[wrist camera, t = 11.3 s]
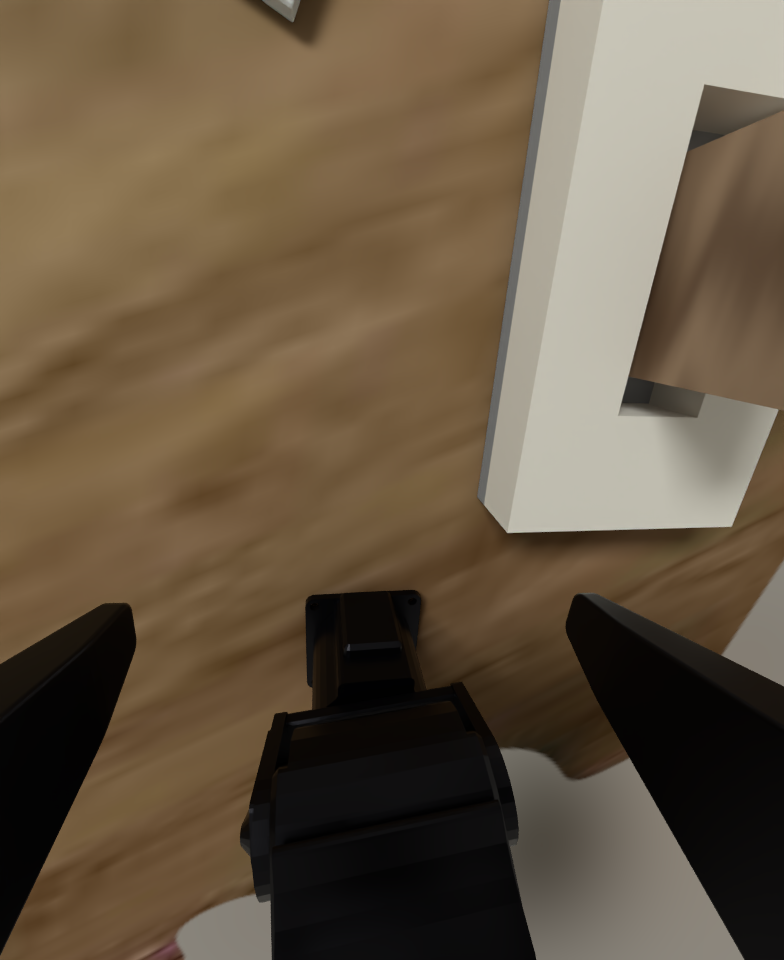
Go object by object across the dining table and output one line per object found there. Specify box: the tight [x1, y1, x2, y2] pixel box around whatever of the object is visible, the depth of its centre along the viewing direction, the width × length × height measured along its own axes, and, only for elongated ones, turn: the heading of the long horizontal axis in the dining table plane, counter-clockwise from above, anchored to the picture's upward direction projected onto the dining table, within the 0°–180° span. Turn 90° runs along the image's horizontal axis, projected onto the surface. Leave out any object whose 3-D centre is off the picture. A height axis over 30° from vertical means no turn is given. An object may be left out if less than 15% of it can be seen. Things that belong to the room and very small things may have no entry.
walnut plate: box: [628, 110, 784, 411], centre depth 15 cm, size 8×2×9 cm, turn 176°
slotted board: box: [477, 0, 784, 533], centre depth 18 cm, size 22×12×4 cm, turn 177°
